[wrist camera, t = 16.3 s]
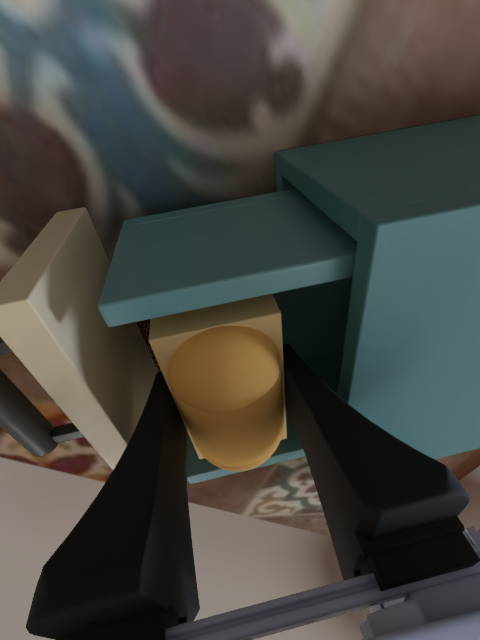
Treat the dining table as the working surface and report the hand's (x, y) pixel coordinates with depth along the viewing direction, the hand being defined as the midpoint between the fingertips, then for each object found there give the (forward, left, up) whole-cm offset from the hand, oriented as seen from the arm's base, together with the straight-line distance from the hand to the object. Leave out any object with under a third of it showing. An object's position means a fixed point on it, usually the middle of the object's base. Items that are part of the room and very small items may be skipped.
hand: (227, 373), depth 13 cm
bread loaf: (0, 0, -1) cm, 1 cm away
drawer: (0, +1, -5) cm, 5 cm away
